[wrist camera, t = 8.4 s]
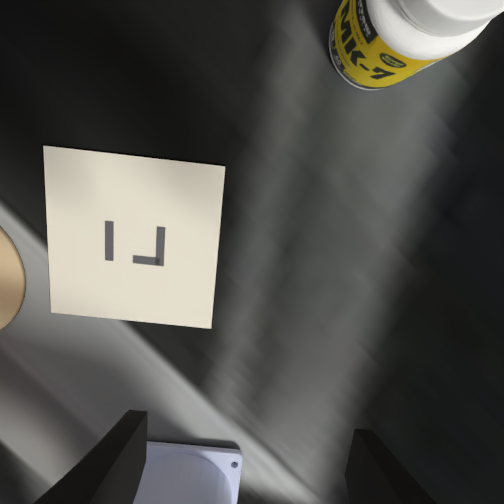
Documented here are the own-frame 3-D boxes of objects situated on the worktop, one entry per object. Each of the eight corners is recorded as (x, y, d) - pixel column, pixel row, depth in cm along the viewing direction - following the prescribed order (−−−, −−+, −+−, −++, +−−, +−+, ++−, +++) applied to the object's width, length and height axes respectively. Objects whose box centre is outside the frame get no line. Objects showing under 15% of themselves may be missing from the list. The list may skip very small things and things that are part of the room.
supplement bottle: (308, 34, 17) (360, -83, 9) (386, -36, 16) (519, -232, 8) (362, 112, 18) (452, 71, 10) (437, 49, 17) (602, -51, 9)
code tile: (211, 327, 21) (211, 328, 21) (51, 312, 21) (51, 312, 21) (225, 166, 19) (225, 166, 19) (44, 145, 18) (42, 145, 18)
